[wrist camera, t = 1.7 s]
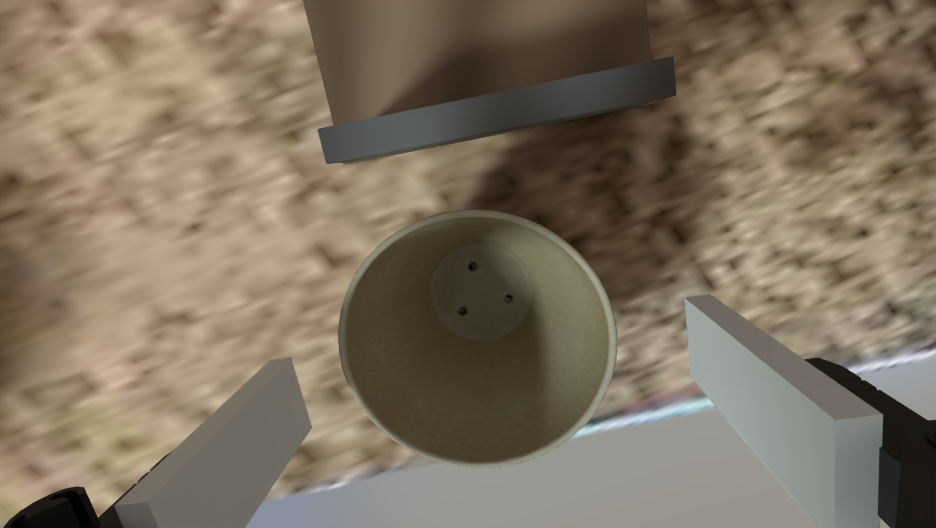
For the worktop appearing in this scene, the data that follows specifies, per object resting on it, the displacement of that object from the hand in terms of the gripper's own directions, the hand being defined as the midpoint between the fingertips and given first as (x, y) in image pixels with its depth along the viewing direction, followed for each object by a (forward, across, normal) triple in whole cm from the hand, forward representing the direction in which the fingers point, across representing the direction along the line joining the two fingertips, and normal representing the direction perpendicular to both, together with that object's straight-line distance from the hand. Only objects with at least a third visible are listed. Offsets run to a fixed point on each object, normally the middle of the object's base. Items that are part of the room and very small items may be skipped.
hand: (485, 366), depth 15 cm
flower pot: (+9, 0, 0) cm, 9 cm away
